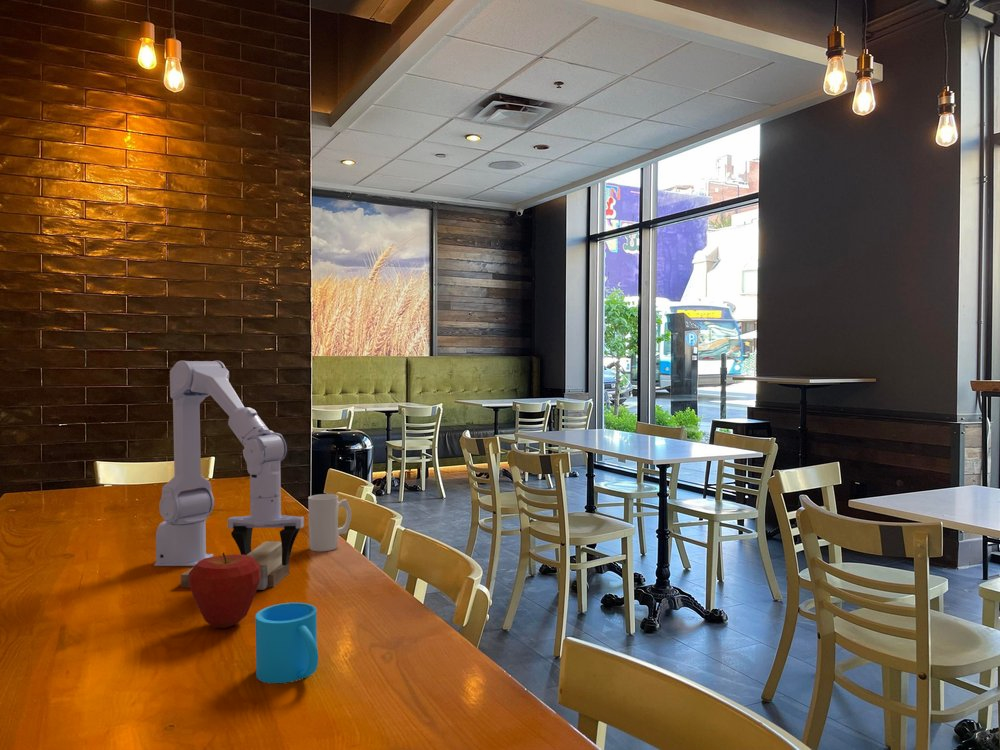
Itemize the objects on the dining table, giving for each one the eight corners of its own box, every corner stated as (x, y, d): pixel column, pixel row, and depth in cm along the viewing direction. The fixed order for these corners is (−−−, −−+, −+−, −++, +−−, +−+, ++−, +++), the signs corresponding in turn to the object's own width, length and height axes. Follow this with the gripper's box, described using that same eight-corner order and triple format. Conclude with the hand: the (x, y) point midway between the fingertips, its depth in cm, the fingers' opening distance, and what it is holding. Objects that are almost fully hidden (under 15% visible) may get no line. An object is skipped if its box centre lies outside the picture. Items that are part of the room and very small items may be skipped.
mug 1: (245, 670, 98) (245, 612, 98) (299, 653, 103) (298, 598, 103) (287, 700, 89) (286, 636, 89) (343, 679, 95) (342, 619, 95)
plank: (181, 587, 135) (180, 574, 135) (202, 573, 144) (202, 561, 144) (273, 587, 134) (273, 574, 134) (289, 573, 143) (289, 561, 143)
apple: (217, 643, 107) (216, 565, 107) (175, 630, 113) (173, 555, 113) (275, 620, 116) (274, 548, 116) (233, 609, 122) (232, 540, 122)
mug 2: (312, 553, 158) (312, 500, 158) (305, 546, 164) (304, 495, 164) (356, 547, 163) (355, 496, 163) (347, 541, 169) (346, 491, 169)
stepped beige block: (242, 589, 132) (242, 557, 132) (265, 570, 144) (265, 541, 144) (263, 589, 132) (263, 557, 131) (285, 570, 144) (284, 541, 143)
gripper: (220, 499, 135) (221, 569, 135) (295, 499, 134) (296, 569, 134) (235, 492, 142) (236, 559, 142) (306, 492, 141) (307, 559, 142)
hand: (266, 564), depth 139 cm, fingers open, 7 cm apart
